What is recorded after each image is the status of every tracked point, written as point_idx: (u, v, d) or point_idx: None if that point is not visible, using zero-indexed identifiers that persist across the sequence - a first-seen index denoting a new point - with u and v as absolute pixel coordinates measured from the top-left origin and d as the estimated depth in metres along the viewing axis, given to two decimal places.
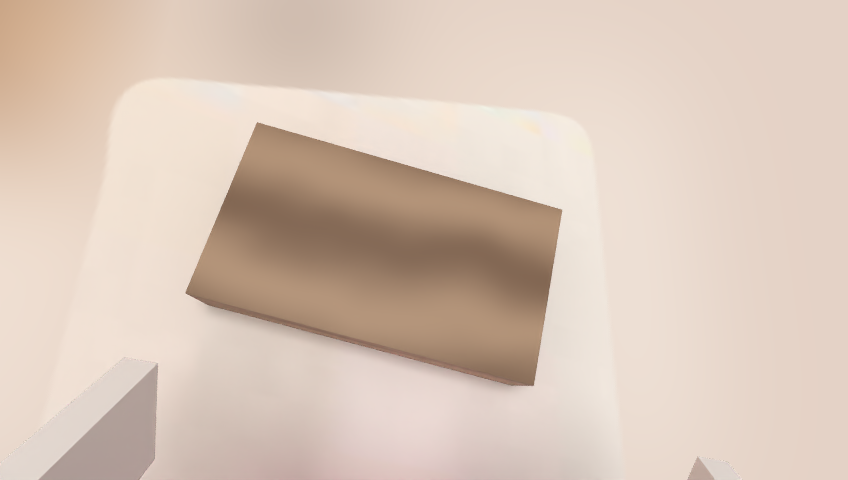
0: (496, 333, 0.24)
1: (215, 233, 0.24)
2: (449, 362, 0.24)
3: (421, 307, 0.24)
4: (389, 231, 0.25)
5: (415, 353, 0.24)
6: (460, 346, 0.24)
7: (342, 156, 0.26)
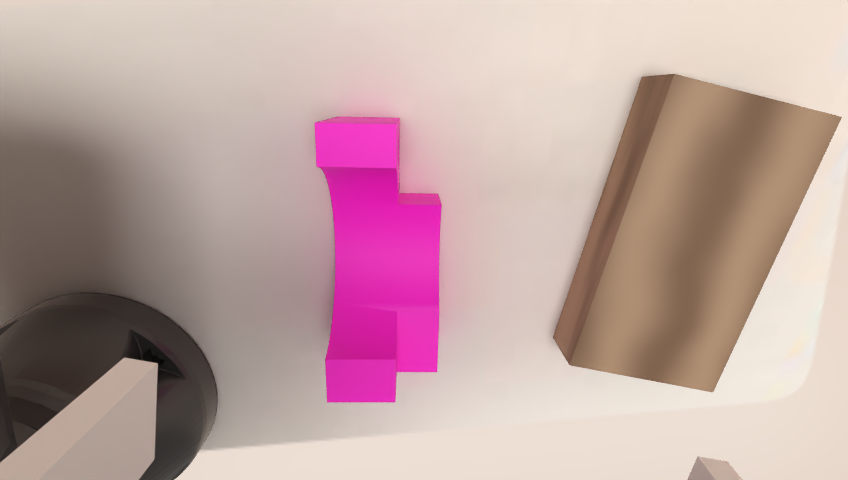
0: (613, 337, 0.29)
1: (728, 92, 0.25)
2: (592, 301, 0.29)
3: (640, 279, 0.28)
4: (711, 250, 0.28)
5: (602, 275, 0.28)
6: (604, 310, 0.29)
7: (791, 203, 0.27)
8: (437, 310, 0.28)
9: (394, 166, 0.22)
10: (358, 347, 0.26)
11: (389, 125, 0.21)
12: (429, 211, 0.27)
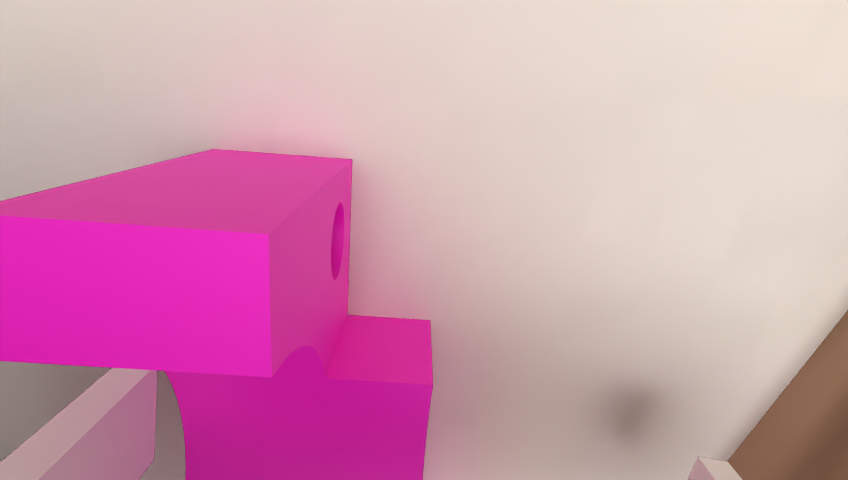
0: None
1: None
2: None
3: None
4: None
5: None
6: None
7: None
8: None
9: (265, 371, 0.06)
10: None
11: (241, 237, 0.06)
12: (404, 393, 0.11)
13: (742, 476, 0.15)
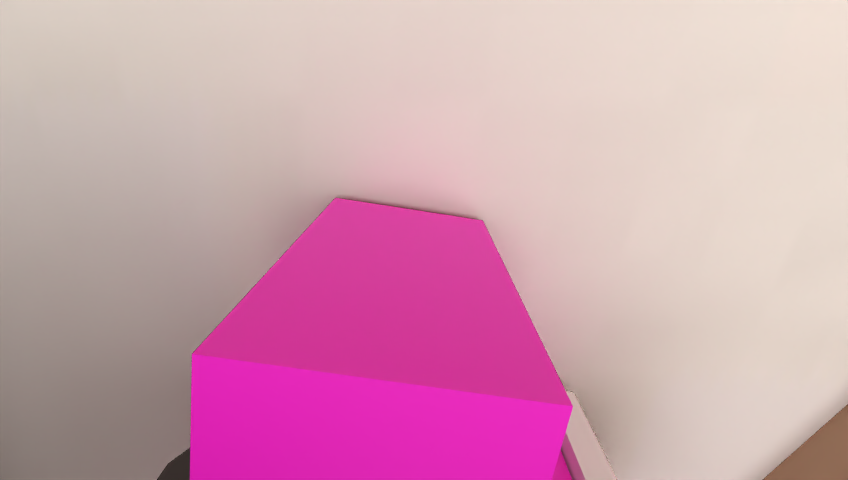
0: None
1: None
2: None
3: None
4: None
5: None
6: None
7: None
8: None
9: None
10: None
11: (541, 409, 0.05)
12: None
13: None
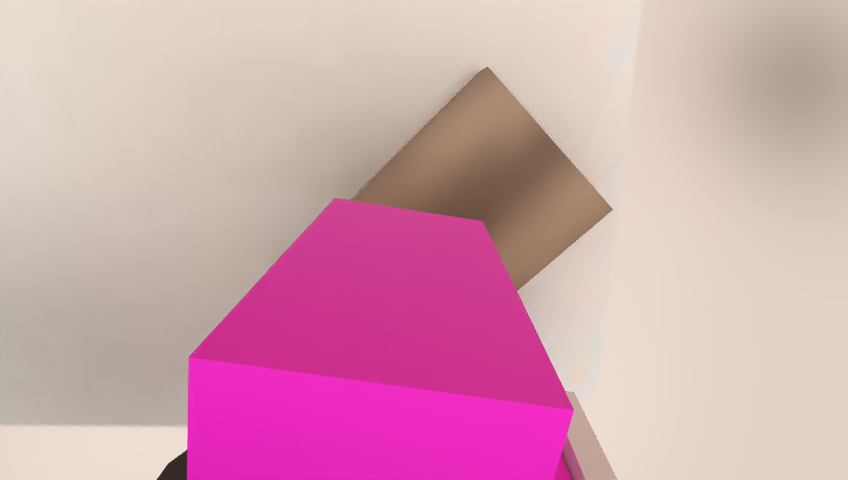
0: None
1: (527, 119, 0.24)
2: None
3: None
4: None
5: None
6: None
7: (533, 264, 0.26)
8: None
9: None
10: None
11: (542, 412, 0.05)
12: None
13: None
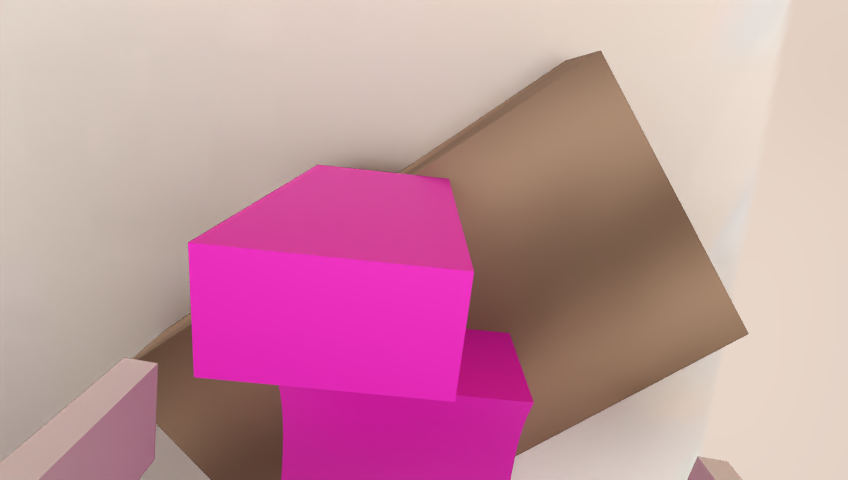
0: (209, 388, 0.15)
1: (647, 159, 0.13)
2: None
3: None
4: None
5: None
6: None
7: (596, 397, 0.15)
8: None
9: (449, 396, 0.07)
10: None
11: (449, 273, 0.06)
12: (503, 409, 0.12)
13: None
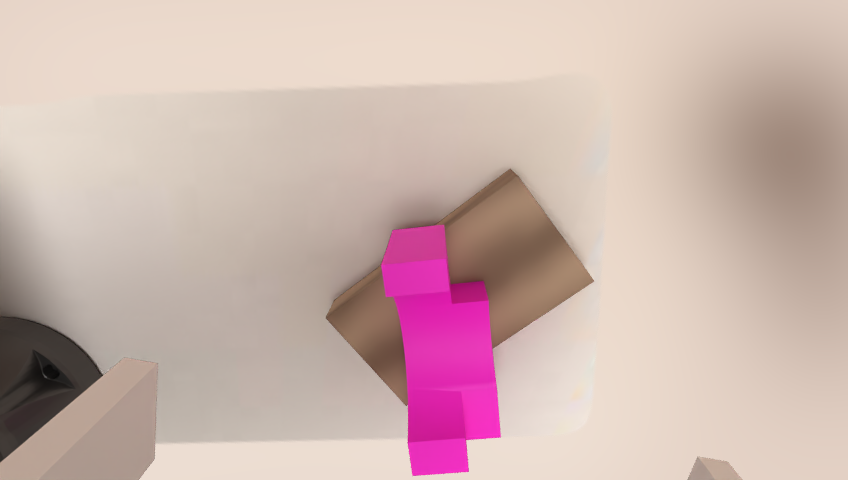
0: (366, 320, 0.36)
1: (541, 213, 0.33)
2: (370, 285, 0.35)
3: None
4: None
5: None
6: (373, 297, 0.35)
7: (533, 313, 0.36)
8: (495, 387, 0.32)
9: (448, 290, 0.27)
10: (432, 428, 0.31)
11: (440, 260, 0.27)
12: (479, 305, 0.32)
13: (378, 268, 0.38)
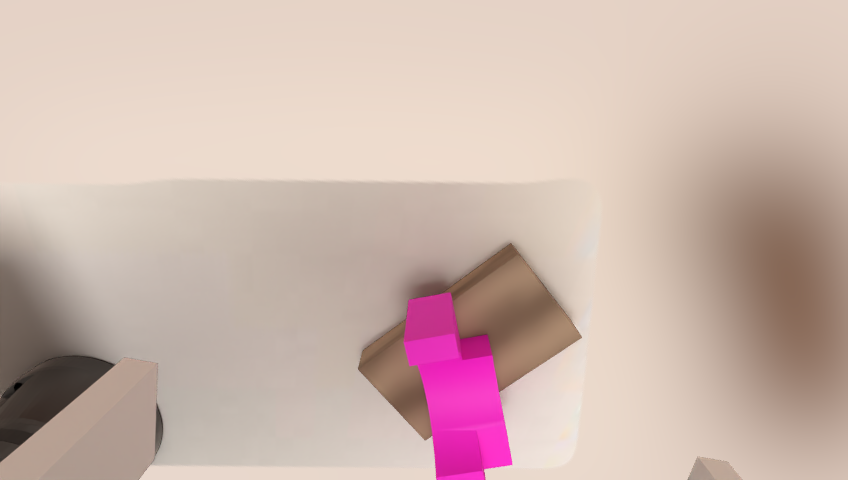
0: (392, 370, 0.43)
1: (537, 284, 0.40)
2: (395, 342, 0.42)
3: None
4: None
5: None
6: (398, 351, 0.42)
7: (531, 363, 0.43)
8: (504, 424, 0.39)
9: (458, 357, 0.34)
10: (455, 463, 0.38)
11: (450, 335, 0.34)
12: (485, 359, 0.39)
13: (400, 325, 0.45)
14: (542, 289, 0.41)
